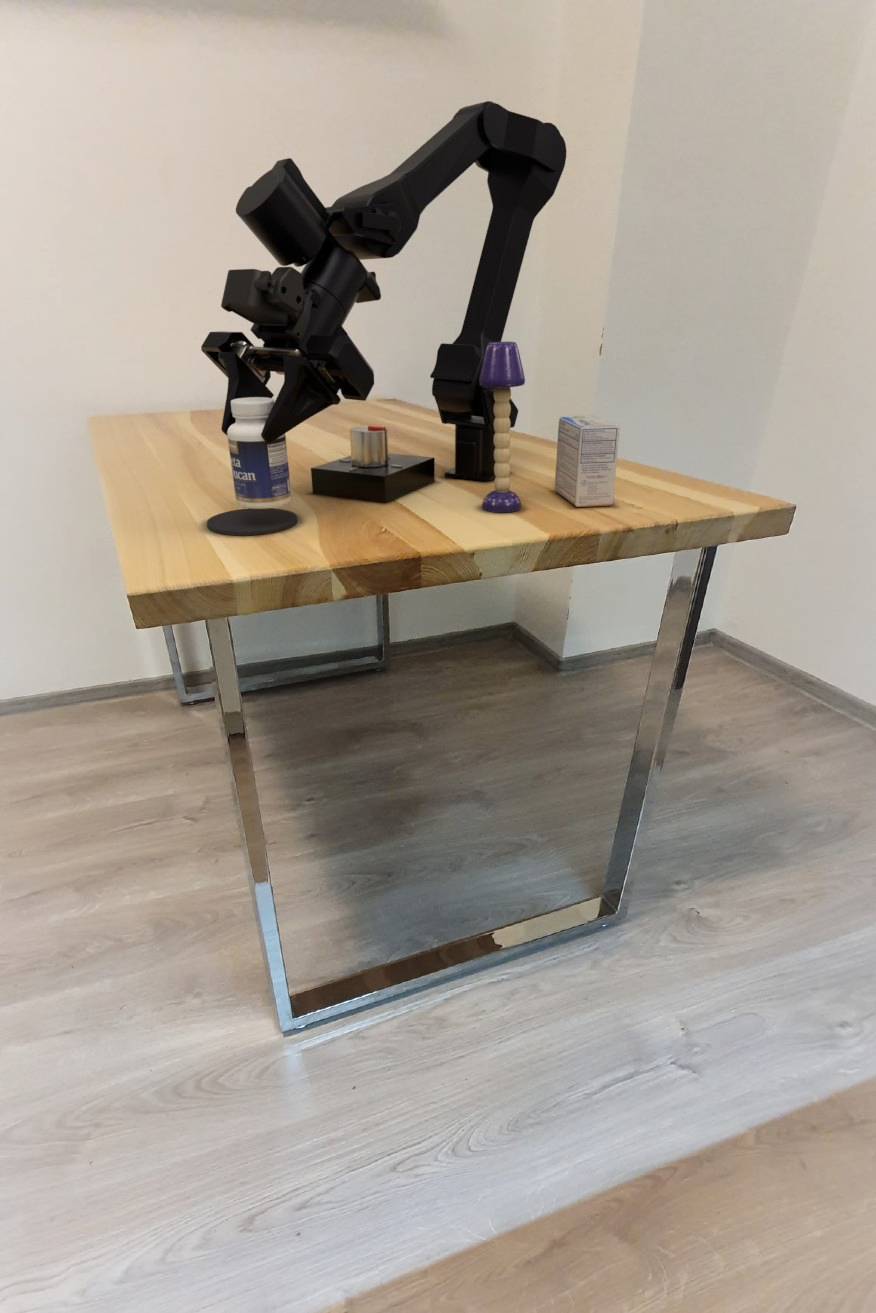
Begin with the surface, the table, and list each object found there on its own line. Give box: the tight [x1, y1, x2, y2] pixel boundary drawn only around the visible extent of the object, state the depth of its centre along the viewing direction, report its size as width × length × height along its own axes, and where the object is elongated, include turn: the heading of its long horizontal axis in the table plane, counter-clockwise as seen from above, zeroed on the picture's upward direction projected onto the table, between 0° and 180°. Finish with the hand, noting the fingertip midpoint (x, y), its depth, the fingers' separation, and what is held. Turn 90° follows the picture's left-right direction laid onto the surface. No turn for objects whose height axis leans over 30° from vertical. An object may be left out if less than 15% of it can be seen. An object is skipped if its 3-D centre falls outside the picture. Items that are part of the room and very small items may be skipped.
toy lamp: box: [479, 341, 526, 513], centre depth 76 cm, size 5×5×17 cm
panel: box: [310, 452, 436, 504], centre depth 87 cm, size 12×10×3 cm
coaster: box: [206, 508, 298, 537], centre depth 74 cm, size 9×9×1 cm
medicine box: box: [554, 414, 620, 508], centre depth 81 cm, size 8×4×9 cm, turn 9°
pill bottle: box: [226, 397, 292, 509], centre depth 70 cm, size 5×5×10 cm
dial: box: [349, 425, 389, 467], centre depth 85 cm, size 4×4×4 cm
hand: (244, 436), depth 68 cm, fingers closed on pill bottle, 5 cm apart
